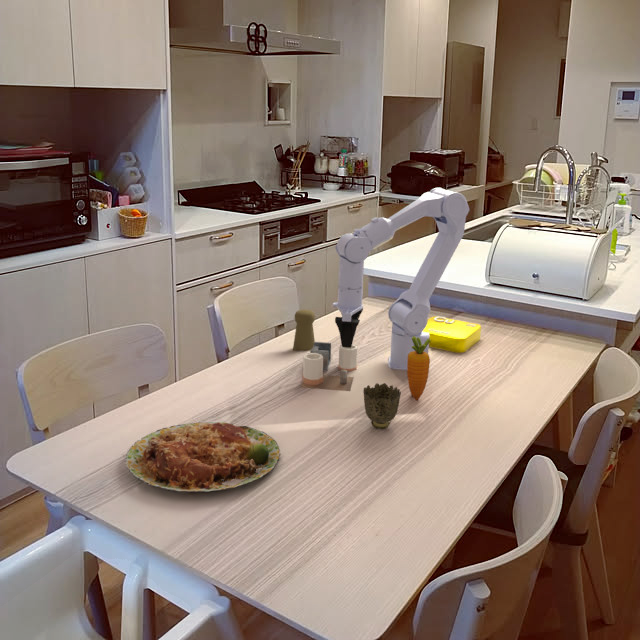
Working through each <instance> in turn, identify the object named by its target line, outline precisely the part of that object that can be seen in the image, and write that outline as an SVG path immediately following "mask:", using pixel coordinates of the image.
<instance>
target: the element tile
mask: <svg viewBox="0 0 640 640" xmlns="http://www.w3.org/2000/svg"><path fill="white" fill-rule="evenodd" d="M423 332H428V333H429V339H430V340H431V341H430V342H429V348H433V349H438V350H443V351H448V352H453V353H458V354H459V353H460V354H462V353H465V352H468V350H470V349H471V348H472V347H474V345H476V344H477V343H478V342H480V341H481V332H482V325H481V324H479V323H473V322H469V321H463V320H457V319H453V318H448V317H444V316H436V315H434V316H431V317H428V318H427V325H426V327H425V329H424V330H423Z"/></svg>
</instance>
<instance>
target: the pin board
mask: <svg viewBox="0 0 640 640" xmlns="http://www.w3.org/2000/svg"><path fill="white" fill-rule="evenodd" d="M353 381H354V376H348V371H347V370H341V369H339V375H329V374H323V382H322V383H320V384H318V385H309V384H306V383H304V382H303V381H302V384H301V388H305V389H318V390H320V389H321V390H329V391H330V390H332V391H345V392H351V389H352V385H353Z"/></svg>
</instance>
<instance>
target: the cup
mask: <svg viewBox="0 0 640 640" xmlns="http://www.w3.org/2000/svg"><path fill="white" fill-rule="evenodd" d="M362 392H363V402H364V410H365V414H366V416H367V418H368V419H369V420H371V422H370V423H371V425H372V427H373V428H374V429H377V430H385V429H388V428H389V427H390V424H391V421H392V420H394V419H395V418H396V415H397V413H398V409H399V405H400V399H401V395H402V391H401V390H400V388H398V387H397V386H395V387H394V385H393V384H392V385H390V386H388V384H387V383H382V384H379V383H378V382H376V383H375V384H374V387H371V385H370V384H368V385H367V386H366V387H363V391H362Z"/></svg>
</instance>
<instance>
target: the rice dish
mask: <svg viewBox="0 0 640 640" xmlns="http://www.w3.org/2000/svg"><path fill="white" fill-rule="evenodd" d="M251 439H252V440H253V439H254V440H256V441H251ZM280 451H281V449H280V446H279V445H278V442H277V441H276V440H275V439H274V438H273V437H272V436H270V435H269V434H267V433H266V432H264V431H261V430H259V429H257V428H253V427H249V426H247V425H239V426H237V425H234V423H232V422H231V423H228V422H223V421H221V422H217V421H215V422H213V421H212V422H211V421H210V422H208V421H206V422H193V423H183V424H177V425H171V426H169V427H167V426H166V427H163V428H160V429H157V430H156V431H154V432H153V431H152V432H151V433H149V434H147V435H145V436H143V437H141V439H139V440H137V441H135V442H134V444H132V446H130V448H129V449H128V450H127V452H126V455H125V457H124V458H125V462H126V463H125V465H126V466H127V467H128V470H129V472H130V473H131V474H132V475H133V477H134V478H137V480H138V481H140V482H143V483H145V484H146V485H149V486H152V487H155V488H161V489H164V490H167V491H174V492H178V493H179V492H181V493H182V492H183V493H185V492H186V493H187V492H189V493H199V492H203V493H205V492H208V493H210V492H211V491H212V492H215V491H216V492H217V491H225V490H226V489H235V488H236V487H239V486H244V485H245V484H249V483H252V482H254V480H259V479H260V478H262V477H264V476H265V475H267V473H270V472H271V471H272V470H273V469H274V467H275V465H276V464H277V463H278V462H279V461H280V456H281V455H282V454H281V453H280ZM257 470H259V471H257ZM233 480H242V481H239V482H237V483H234V484H224V483H226V482H231V481H233Z"/></svg>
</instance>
